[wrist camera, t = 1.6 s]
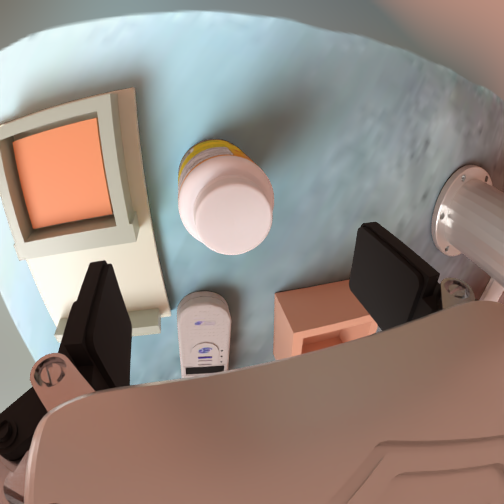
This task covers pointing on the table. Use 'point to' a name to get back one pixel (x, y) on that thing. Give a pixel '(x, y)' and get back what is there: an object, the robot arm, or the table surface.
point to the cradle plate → (63, 174)
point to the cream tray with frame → (91, 229)
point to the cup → (318, 319)
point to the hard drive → (492, 291)
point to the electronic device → (203, 333)
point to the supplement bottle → (224, 197)
